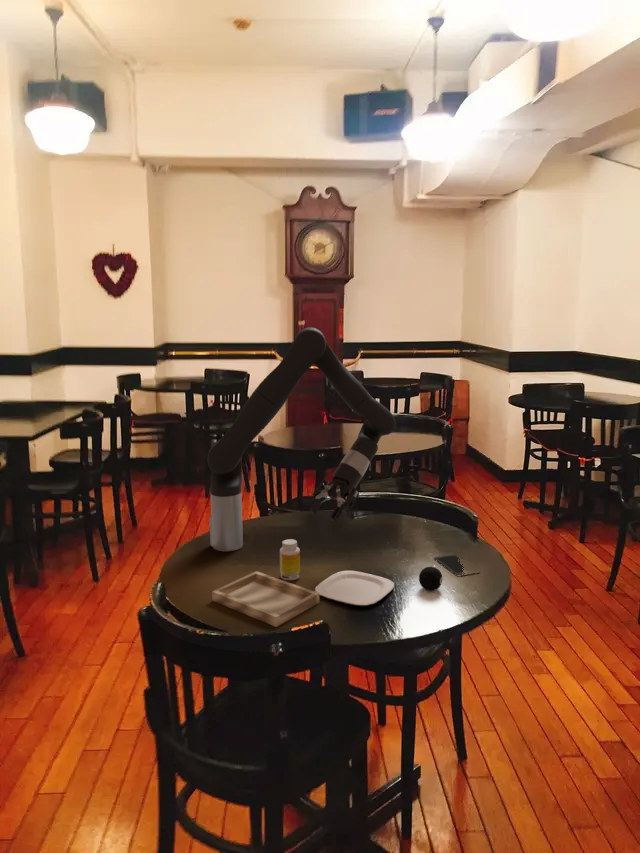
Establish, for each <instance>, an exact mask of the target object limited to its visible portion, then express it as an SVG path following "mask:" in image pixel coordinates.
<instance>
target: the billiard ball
mask: <svg viewBox="0 0 640 853" xmlns="http://www.w3.org/2000/svg"><path fill="white" fill-rule="evenodd" d="M418 582H419V584H420V586H421V588H423V589H424V590H426V591H436V590H438V589H439V588H440V587H441V586H442V583H443V575H442V573H441V571H440V570H439V569H438V568H437V567H434V566H426V567H424V568H422V570H421V571H420V573H419V575H418Z"/></svg>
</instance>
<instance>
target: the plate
mask: <svg viewBox="0 0 640 853" xmlns="http://www.w3.org/2000/svg"><path fill="white" fill-rule="evenodd" d="M394 588H395V582H393V581H392V580H390V579H388V578H385V577H382V576H379V575H375V574H370V573H366V572H362V571H357V570H341V571H338V572H335V573H334V574H331V575H330V576H328V577H327V578H326V579H324V580H322V581H321V582H320V583H319V584H317V585H316V586H315V589H314V592H317V593H319V597H322V598H325V599H327V600H332V601H334V602H339V603H342V604H346V605H351V606H357V607H369V606H371V605H375V604H376V603H378V602H380V601H381V600H383V599H384V598H385V597H387V595H389V594H390V593H391V592H392V591H393V589H394Z"/></svg>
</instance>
